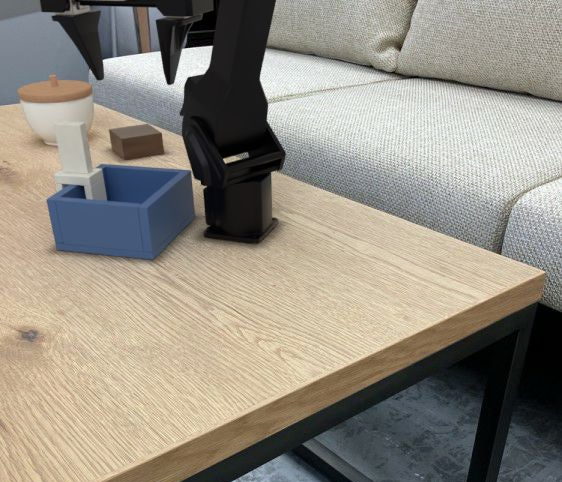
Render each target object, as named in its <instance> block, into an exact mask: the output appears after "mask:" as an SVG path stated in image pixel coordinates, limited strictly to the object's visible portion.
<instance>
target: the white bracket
mask: <svg viewBox="0 0 562 482" xmlns="http://www.w3.org/2000/svg"><path fill="white" fill-rule="evenodd" d="M54 129H55V134H56V139H57V144H58V146H57V149H58V155H59V159H60V165H61V169H60V170H58V171H56V172H55V173H54V174H53V180H54V184H55V190H56V193H57V192H59V191H60V190H62V189H63V188H65V187H66V186H68V185H81V186H84V188H85V194H86V199H90V200H102V201H107V196H106V190H105V183H104V178H103V171H102V169H100V168H96V167H93V161H92V156H91V155H92V154H91V150H90V144H89V138H88V137H89V136H88V133H87V130H86V124H85V122H70V121H58V122H56V123H54Z"/></svg>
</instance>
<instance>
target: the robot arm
mask: <svg viewBox="0 0 562 482" xmlns="http://www.w3.org/2000/svg"><path fill="white" fill-rule="evenodd" d="M38 3H39V9H40V12H41V13H52V14H53V13H54V14H53V15H51V16H50V17H51V20H52V22H57V23H59V25H60V26H61V28H62V29H63V30H64V32H65V33H66V35H67V36H68V37H69V39H70V40H71V42H72V43H73V44H74V46H75V47H76V49H77V51H78V52H79V53H80V56H81V57H82V59H83V60H84V62H85V64H86V65H87V67H88V68H89V70H90V72H91V73H92V75H93V77H94V78H95V80H96V81H103V80H104V79H105V66H104V65H105V64H104V59H103V54H102V53H103V52H102V46H101V41H100V35H99V34H100V33H99V23H100V18H101V13H102V10H100V9H95V10H94V9H91V7H116V8H117V7H121V8H152V9H153V8H155V9H157V10H158V12H159V13H161V15H162V16H163V17H161V18H157V19H155V26H156V32H157V39H158V46H159V50H160V51H159V52H160V58H161V64H162V71H163V74H164V78H165V83H166V85H167V86H173V85H174V84H175V81H176V77H177V72H178V69H179V65H180V61H181V56H182V51H183V47H184V44H185V41H186V38H187V36H188V33H189V31H190V28H191V27H192V26H193V24H194V22H198V21H201V20H203V15H204V14H205V13H209V12H212V11H214V0H38ZM276 4H277V0H219V3H218V11H217V17H216V21H215V22H216V23H215V29H214V35H213V41H212V42H213V43H212V46H211V47H212V48H211V53H210V60H209V65H208V67H207V69H206V71H205V72H204V73H201V74H197V75H191V76H188V77H186V80H185V82H184V85H183V102H182V106H181V109H180V110H179V116H180V117H182V121H181V137H182V142H183V145H184V148H185V152H186V156H187V158H188V162H189V165H190V170H191V173H192V175H193V176H192V177H193V178H194V180H196V181H199V182H200V186H203V187H204V188H202V195H203V207H204V208H203V209H204V219H205V224H206V226H208V227H206V228H205V229H204V230H203V231H202V233H203V236H204V238H214V239H219V240H220V239H221V240H227V241H235V242H236V241H237V242H243V243H248V244H249V243H251V244H259V243H260V242H261V241H262V240H263V239H264V238H265V237H266V236H267V235H268V234H269V233H270V232H271V231H272V230H273V229H274V228H275V227H276V226H277V225H278V223H279V219H278V218H277V217H273V193H272V192H273V187H272V173H274V172H279V171H280V172H281V171H282V170H283V168H284V164H285V161H286V157H287V152H286V151H285V149H284V147H283V145H282V144H281V142H280V140H279V139H278V137H277V135H276V134H275V132H274V130H273V129H272V127H271V125H270V123H269V122H268V113H269V101H268V99H267V96H266V93H265V90H264V88H263V85H262V82H261V74H262V68H263V63H264V59H265V55H266V49H267V45H268V41H269V37H270V32H271V31H270V30H271V27H272V21H273V18H274V12H275V7H276ZM243 154H247V155H248V156H247V157H243V158H240V159H236V160H233V161H230V162H225V159H228V158H232V157H236V156H240V155H243Z"/></svg>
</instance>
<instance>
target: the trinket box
mask: <svg viewBox="0 0 562 482" xmlns="http://www.w3.org/2000/svg"><path fill="white" fill-rule="evenodd" d="M48 77H49V80H44V81H38V82H32V83H29V84H25V85H23V86H20V87H19V88H18V89H17V96H18V99H19V102H20V107H21V111H22V114H23V116H24V119H25V121H26V124H27V126H28V127H29V129H30V130H31V131H32V132H33V134H34V135H35V136H36V137H38V138H39V139H41V140H42V141H43V143H44V144H45V145H48V146H54V147H58V144H57V139H56V134H55V129H54V123H56V122H58V121H70V122H85V124H86V130H87V134H88V133H89V132H90V131H91V128H92V125H93V124H94V119H95V118H94V117H95V103H94V97H93V86H92V84H91V83H89V82H88V81H84V80H83V81H82V80H76V79H75V80H73V79H58V77H57V74H50V75H49V76H48Z"/></svg>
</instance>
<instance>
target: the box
mask: <svg viewBox="0 0 562 482" xmlns="http://www.w3.org/2000/svg"><path fill="white" fill-rule="evenodd" d="M95 168H100V169H102V171H103V178H104V183H105V190H106V196H107V201H102V200H90V199H86V194H85V188H84V186H81V185H68V186H66V187H65V188H63V189H62V190H60V191H59V192H57V191H56V192H55V193H54V194H52V195H50V196H49V197H47V198H46V205H47V210H48V215H49V219H50V224H51V229H52V234H53V238H54V244H55V248H56V251H66V252H74V253H84V254H93V255H101V256H113V257H121V258H122V257H123V258H131V259H141V260H150V261H151V260H152V261H154V260H155V259H156V258H157V257H158V256H159V255H160V254H161V253H162V252H163V251H164V250H165V249H166V248H167V247H168V246H169V244H171V243H172V242H173V241H174V240H175V238H177V236H178V235H180V233H182V231H184V229H185V228H186V227H187V226H189V224H191V222H192V221H193V220H194V219H195V218H196V211H195V210H196V209H195V200H194V187H193V176H192V175H193V174H192V169H181V168H180V169H179V168H167V167H166V168H165V167H151V166H139V165H126V164H125V165H123V164H111V163H109V164H108V163H100V164H98V165H96V166H95Z"/></svg>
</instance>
